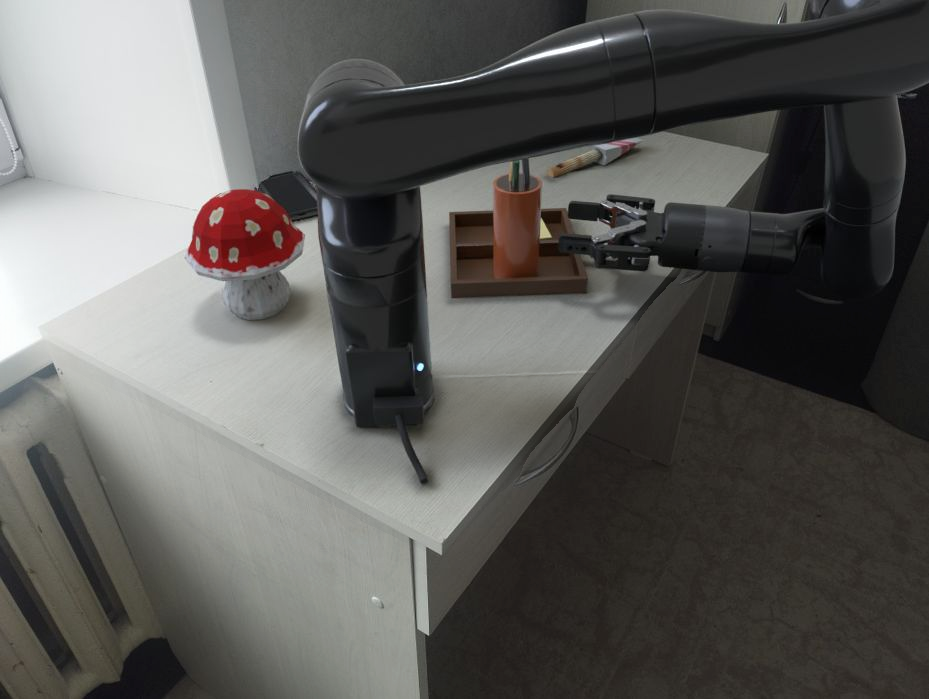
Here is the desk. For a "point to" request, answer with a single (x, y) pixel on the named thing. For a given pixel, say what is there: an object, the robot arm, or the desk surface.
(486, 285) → the tray
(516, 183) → the pencil cup
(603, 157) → the wrapped churro
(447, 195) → the desk surface
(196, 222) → the decorative mushroom
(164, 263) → the desk surface
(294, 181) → the phone
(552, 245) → the divider
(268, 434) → the desk surface
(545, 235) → the note pad
